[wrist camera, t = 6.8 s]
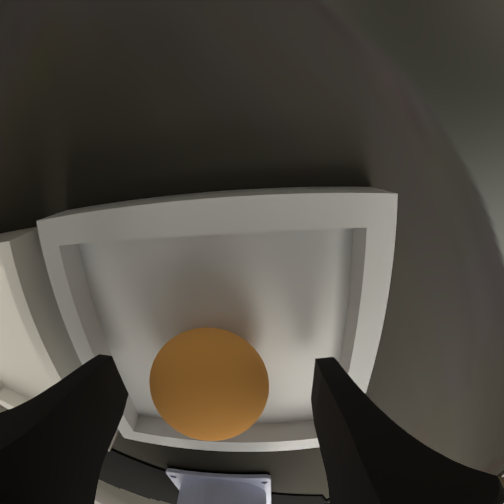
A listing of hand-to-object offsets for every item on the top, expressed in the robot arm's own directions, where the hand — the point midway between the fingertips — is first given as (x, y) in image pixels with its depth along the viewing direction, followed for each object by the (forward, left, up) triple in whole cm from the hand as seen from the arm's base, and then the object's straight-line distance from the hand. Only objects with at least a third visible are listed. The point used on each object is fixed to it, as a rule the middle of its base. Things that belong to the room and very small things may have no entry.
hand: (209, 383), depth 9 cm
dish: (-1, +14, -3) cm, 14 cm away
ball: (0, 0, -2) cm, 2 cm away
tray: (0, 0, -3) cm, 3 cm away
